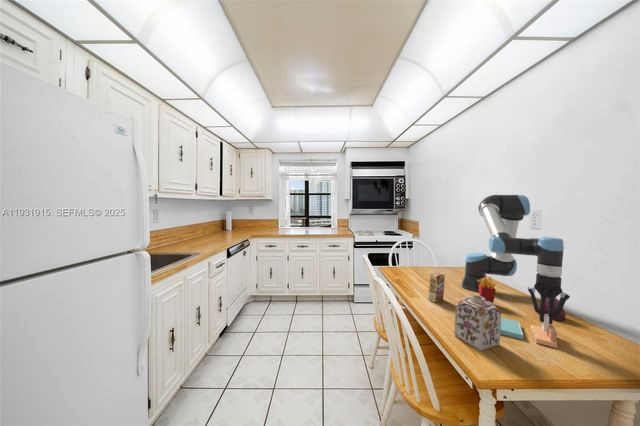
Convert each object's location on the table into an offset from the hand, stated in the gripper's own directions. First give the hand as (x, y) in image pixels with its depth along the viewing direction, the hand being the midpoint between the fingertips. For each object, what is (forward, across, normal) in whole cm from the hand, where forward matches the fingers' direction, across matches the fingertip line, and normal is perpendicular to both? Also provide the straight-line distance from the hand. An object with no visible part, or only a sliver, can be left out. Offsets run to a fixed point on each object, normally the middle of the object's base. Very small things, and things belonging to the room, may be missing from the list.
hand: (545, 330), depth 100 cm
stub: (+4, -1, 0) cm, 4 cm away
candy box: (+4, -44, +17) cm, 47 cm away
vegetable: (+4, +7, +30) cm, 31 cm away
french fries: (+4, -21, +29) cm, 36 cm away
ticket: (+4, -14, 0) cm, 14 cm away
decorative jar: (+4, -24, -19) cm, 31 cm away
